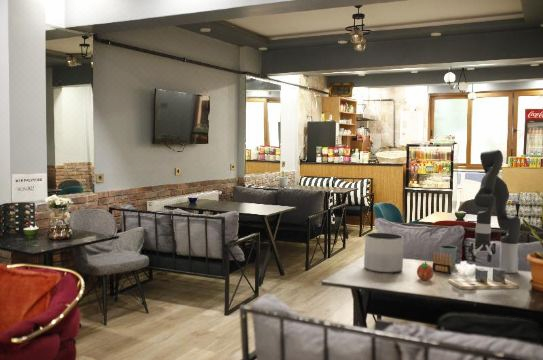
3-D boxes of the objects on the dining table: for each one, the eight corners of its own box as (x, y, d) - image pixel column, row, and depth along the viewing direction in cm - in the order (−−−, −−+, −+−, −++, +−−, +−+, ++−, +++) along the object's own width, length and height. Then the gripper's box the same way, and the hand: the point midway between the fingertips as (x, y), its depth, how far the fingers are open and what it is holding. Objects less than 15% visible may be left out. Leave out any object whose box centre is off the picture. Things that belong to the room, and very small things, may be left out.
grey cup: (457, 265, 321) (457, 246, 320) (455, 268, 311) (456, 249, 311) (439, 263, 325) (440, 244, 324) (437, 266, 316) (438, 247, 315)
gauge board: (503, 280, 286) (504, 266, 285) (518, 288, 272) (519, 273, 271) (448, 282, 281) (448, 267, 281) (461, 289, 267) (461, 274, 267)
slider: (482, 279, 281) (482, 268, 281) (490, 283, 273) (490, 272, 273) (475, 279, 281) (475, 268, 280) (483, 283, 273) (483, 272, 272)
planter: (409, 269, 307) (410, 236, 306) (390, 276, 291) (392, 240, 289) (376, 263, 322) (377, 231, 320) (356, 269, 305) (357, 235, 304)
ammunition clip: (451, 273, 300) (452, 253, 299) (450, 274, 298) (451, 253, 297) (432, 270, 306) (433, 250, 305) (431, 271, 304) (432, 251, 303)
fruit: (434, 278, 287) (434, 261, 287) (431, 283, 279) (432, 264, 278) (418, 276, 291) (418, 259, 290) (415, 281, 282) (416, 262, 281)
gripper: (491, 230, 281) (489, 260, 282) (466, 230, 279) (465, 260, 281) (499, 233, 274) (497, 263, 275) (474, 232, 272) (472, 263, 273)
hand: (481, 261), depth 278 cm, fingers open, 8 cm apart
